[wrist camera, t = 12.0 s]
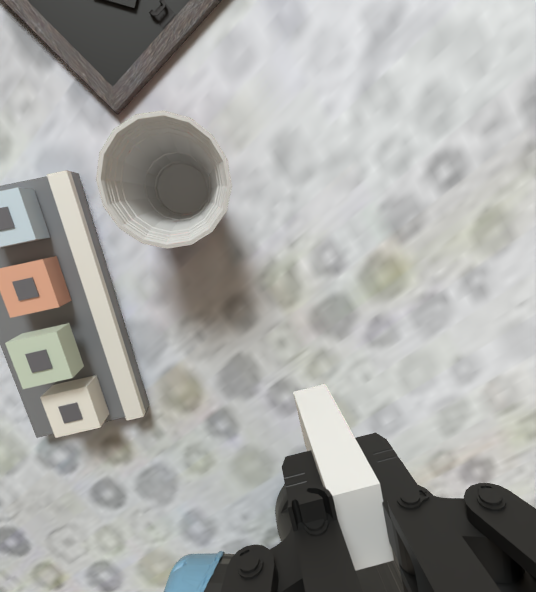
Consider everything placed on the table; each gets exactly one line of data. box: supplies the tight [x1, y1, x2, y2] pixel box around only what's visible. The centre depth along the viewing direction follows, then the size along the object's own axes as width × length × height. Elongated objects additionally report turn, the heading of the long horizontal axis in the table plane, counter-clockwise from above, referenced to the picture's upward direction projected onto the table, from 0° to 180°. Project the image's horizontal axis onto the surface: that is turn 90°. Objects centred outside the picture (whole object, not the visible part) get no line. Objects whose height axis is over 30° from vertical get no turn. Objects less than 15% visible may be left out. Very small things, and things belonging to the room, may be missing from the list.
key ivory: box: [40, 375, 109, 438], centre depth 43 cm, size 5×5×3 cm
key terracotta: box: [0, 256, 71, 318], centre depth 40 cm, size 5×5×3 cm
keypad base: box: [0, 170, 149, 438], centre depth 43 cm, size 28×13×3 cm, turn 12°
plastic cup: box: [96, 110, 232, 249], centre depth 37 cm, size 11×11×12 cm
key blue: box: [0, 187, 50, 248], centre depth 38 cm, size 5×5×3 cm
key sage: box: [5, 323, 84, 389], centre depth 39 cm, size 5×5×3 cm
